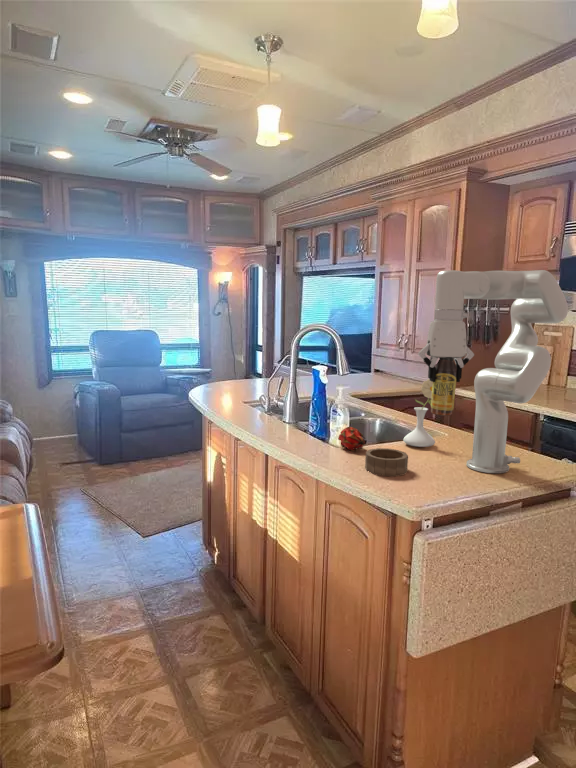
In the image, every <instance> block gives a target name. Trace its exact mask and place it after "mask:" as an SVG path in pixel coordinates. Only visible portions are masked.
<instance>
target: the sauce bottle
mask: <svg viewBox="0 0 576 768" xmlns="http://www.w3.org/2000/svg"><path fill="white" fill-rule="evenodd" d="M438 359H439V360H437V362H436V364H435V368H436V380H435V382H433V387H432V398H430V400H431V405H430V413H431V414H433V415H435V416H442V417H443V416H444V417H445V416H447V417H449V416H451V415H453V414H454V408H455V398H456V386H457V382H456V374H457V367H456V363H455V361H454V358H452V357H445V358H438Z"/></svg>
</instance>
